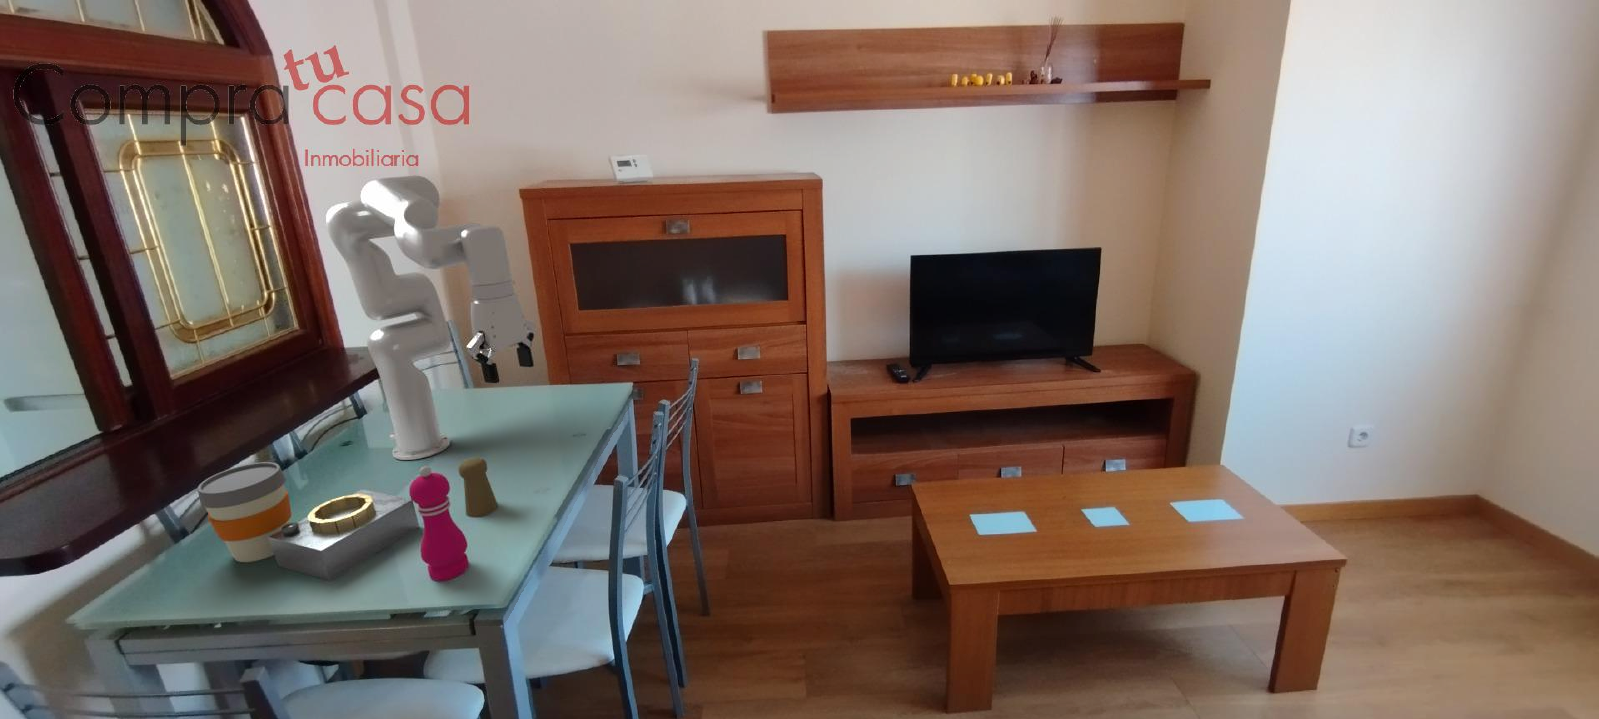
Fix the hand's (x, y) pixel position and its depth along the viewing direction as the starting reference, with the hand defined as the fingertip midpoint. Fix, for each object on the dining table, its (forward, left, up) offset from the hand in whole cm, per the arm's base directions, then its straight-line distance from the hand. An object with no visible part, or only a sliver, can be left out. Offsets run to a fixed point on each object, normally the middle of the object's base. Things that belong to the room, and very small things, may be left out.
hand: (510, 374), depth 140 cm
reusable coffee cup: (-34, -34, -26) cm, 55 cm away
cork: (-4, -10, -26) cm, 28 cm away
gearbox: (-18, -28, -26) cm, 42 cm away
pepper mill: (+7, -28, -26) cm, 39 cm away
